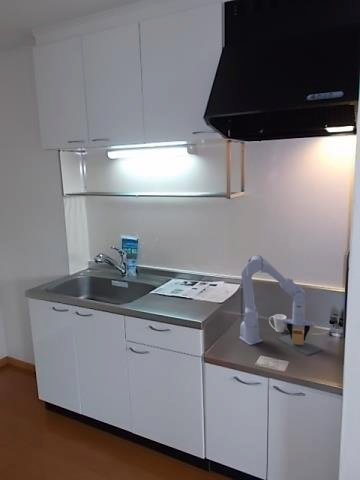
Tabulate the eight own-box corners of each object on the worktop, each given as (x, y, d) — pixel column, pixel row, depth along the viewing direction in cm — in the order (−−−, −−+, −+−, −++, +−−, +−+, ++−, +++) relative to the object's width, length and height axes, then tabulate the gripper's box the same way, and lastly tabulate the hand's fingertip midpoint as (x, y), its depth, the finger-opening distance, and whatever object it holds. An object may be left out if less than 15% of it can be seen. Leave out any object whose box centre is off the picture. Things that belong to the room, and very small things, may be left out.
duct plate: (277, 339, 193) (277, 333, 192) (292, 334, 197) (292, 328, 197) (307, 356, 175) (307, 349, 175) (322, 350, 180) (322, 344, 179)
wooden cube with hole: (291, 343, 184) (291, 333, 183) (292, 338, 189) (292, 329, 188) (303, 344, 182) (303, 335, 181) (304, 339, 187) (304, 330, 186)
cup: (282, 334, 197) (282, 320, 195) (265, 329, 204) (265, 315, 202) (289, 330, 202) (289, 316, 200) (272, 325, 209) (272, 311, 207)
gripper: (314, 311, 183) (314, 337, 186) (284, 308, 189) (283, 333, 191) (314, 317, 177) (313, 343, 180) (282, 313, 182) (282, 339, 185)
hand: (298, 338), depth 185 cm, fingers closed on wooden cube with hole, 5 cm apart
